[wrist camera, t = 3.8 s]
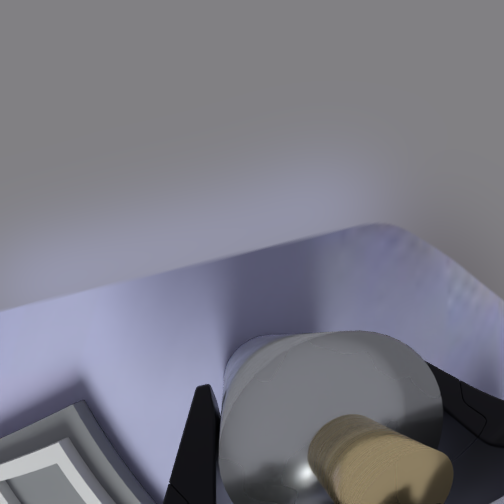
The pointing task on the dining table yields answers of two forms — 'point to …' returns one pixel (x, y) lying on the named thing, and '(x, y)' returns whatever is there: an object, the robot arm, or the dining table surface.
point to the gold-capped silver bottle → (331, 422)
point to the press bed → (65, 464)
